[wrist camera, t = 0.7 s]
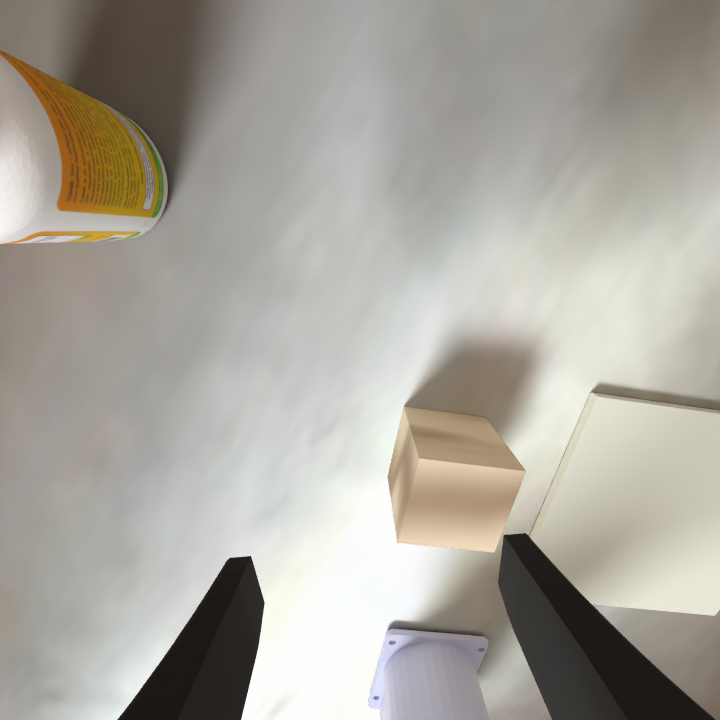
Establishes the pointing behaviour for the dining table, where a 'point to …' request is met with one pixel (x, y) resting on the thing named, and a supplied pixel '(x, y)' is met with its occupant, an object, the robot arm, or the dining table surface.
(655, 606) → the pad
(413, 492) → the cube
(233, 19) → the dining table surface
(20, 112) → the supplement bottle
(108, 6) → the dining table surface
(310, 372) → the dining table surface
